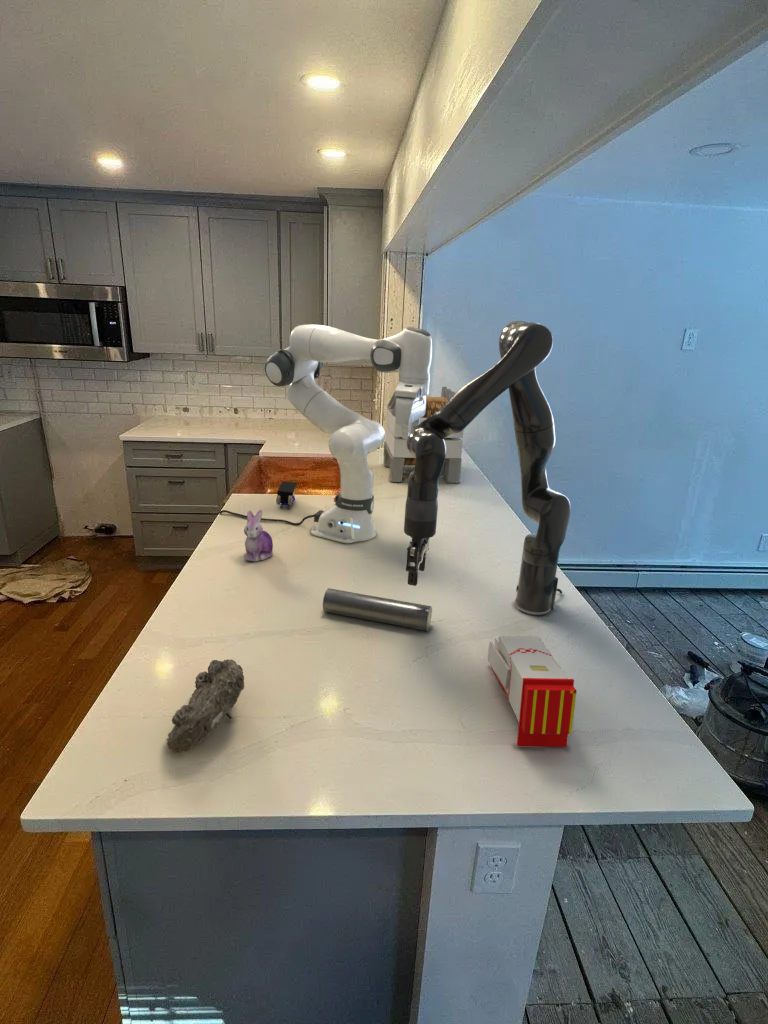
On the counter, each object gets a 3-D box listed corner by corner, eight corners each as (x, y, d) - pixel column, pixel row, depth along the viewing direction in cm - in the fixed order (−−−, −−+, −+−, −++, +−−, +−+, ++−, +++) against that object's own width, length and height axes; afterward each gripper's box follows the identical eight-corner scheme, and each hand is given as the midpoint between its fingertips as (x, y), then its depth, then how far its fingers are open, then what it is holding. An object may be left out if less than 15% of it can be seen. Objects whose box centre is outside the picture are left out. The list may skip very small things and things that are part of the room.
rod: (322, 615, 145) (322, 594, 143) (331, 604, 151) (331, 584, 149) (426, 635, 138) (427, 613, 136) (431, 623, 144) (432, 602, 142)
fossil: (192, 660, 117) (244, 628, 112) (224, 691, 120) (276, 661, 115) (142, 746, 98) (202, 712, 93) (182, 779, 101) (242, 748, 96)
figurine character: (293, 513, 218) (297, 497, 231) (292, 495, 215) (297, 480, 228) (275, 513, 218) (281, 496, 231) (274, 495, 214) (280, 479, 228)
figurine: (248, 564, 171) (246, 518, 166) (239, 551, 179) (237, 507, 174) (278, 559, 175) (277, 514, 170) (269, 547, 183) (267, 503, 178)
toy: (536, 619, 129) (586, 686, 99) (531, 673, 131) (578, 754, 102) (483, 618, 128) (517, 685, 99) (479, 672, 131) (511, 753, 102)
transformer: (382, 463, 289) (386, 382, 275) (445, 464, 293) (451, 384, 279) (390, 482, 257) (394, 392, 243) (460, 483, 261) (468, 394, 247)
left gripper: (412, 383, 172) (409, 428, 176) (392, 390, 153) (389, 440, 158) (432, 385, 170) (428, 430, 174) (415, 392, 151) (411, 443, 156)
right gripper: (430, 527, 125) (425, 592, 130) (442, 507, 138) (437, 567, 143) (397, 522, 127) (393, 587, 132) (412, 503, 139) (408, 563, 145)
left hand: (410, 435), depth 166 cm, fingers open, 8 cm apart
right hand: (416, 577), depth 138 cm, fingers open, 8 cm apart
